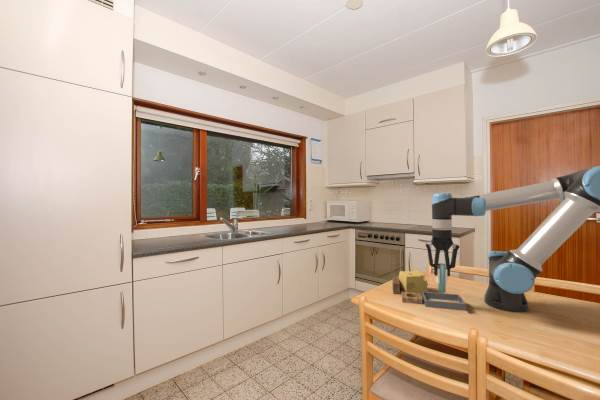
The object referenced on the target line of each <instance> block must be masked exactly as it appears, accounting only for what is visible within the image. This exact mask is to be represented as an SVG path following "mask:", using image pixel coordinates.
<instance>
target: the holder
mask: <svg viewBox="0 0 600 400" xmlns="http://www.w3.org/2000/svg"><path fill="white" fill-rule="evenodd" d="M400 295H401V296H400V297H401V302H402V303H404V304H406V303H407V304H416V305H423V299H422V295H420V293H411V292H403V291H400Z"/></svg>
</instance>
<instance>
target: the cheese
mask: <svg viewBox="0 0 600 400" xmlns="http://www.w3.org/2000/svg"><path fill="white" fill-rule="evenodd" d="M398 277H399V282H400V291H401V292H411V293H420V295H421V296H422V292H429V289H428V285H429V284H428V280H427V278H426V275H425V274H424V273H423V272H422V271H421V270H410V271H408V270H407V271H405V270H404V271H403V270H402V271H401V270H400V271H399V274H398Z"/></svg>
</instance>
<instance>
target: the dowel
mask: <svg viewBox="0 0 600 400" xmlns="http://www.w3.org/2000/svg"><path fill="white" fill-rule="evenodd" d="M438 268H439V269H440V284H438V283H437V285H438V287H437V290H438V292H437V293H445V294H446V284H445V269H446V263H441V262H440V263H439V262H438Z"/></svg>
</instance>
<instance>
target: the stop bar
mask: <svg viewBox="0 0 600 400" xmlns="http://www.w3.org/2000/svg"><path fill="white" fill-rule="evenodd" d="M391 277H392V278H391V280H392V281H391V282H392V285H391V286H392V293H393V294H392V295H401V289H400V282H399V276H391Z"/></svg>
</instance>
